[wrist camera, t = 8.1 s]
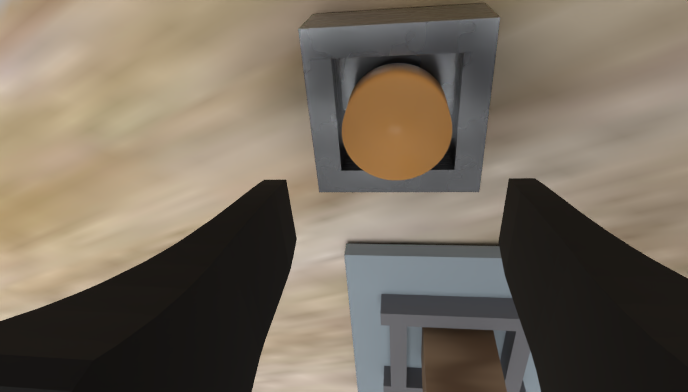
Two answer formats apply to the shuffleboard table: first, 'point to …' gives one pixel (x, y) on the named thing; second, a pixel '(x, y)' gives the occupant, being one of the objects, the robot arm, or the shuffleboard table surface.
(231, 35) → the shuffleboard table surface
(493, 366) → the block
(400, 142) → the button
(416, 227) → the shuffleboard table surface
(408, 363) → the board
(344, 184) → the control box
